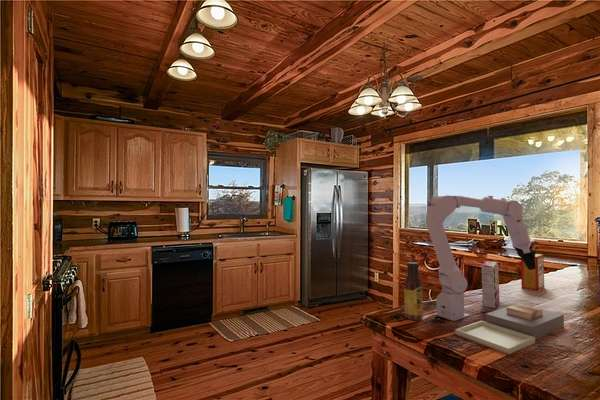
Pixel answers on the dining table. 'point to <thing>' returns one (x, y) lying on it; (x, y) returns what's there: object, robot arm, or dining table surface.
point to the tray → (495, 337)
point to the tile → (524, 311)
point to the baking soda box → (533, 274)
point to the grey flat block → (527, 322)
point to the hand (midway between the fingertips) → (529, 265)
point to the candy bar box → (490, 284)
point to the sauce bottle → (413, 293)
